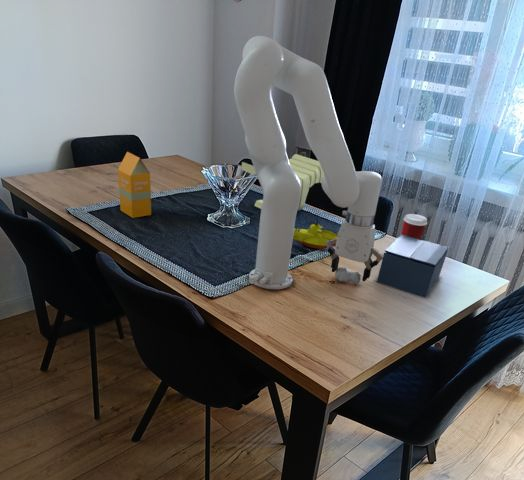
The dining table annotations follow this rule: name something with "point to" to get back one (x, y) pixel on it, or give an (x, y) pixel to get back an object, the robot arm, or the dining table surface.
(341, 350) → the dining table surface
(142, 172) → the orange juice
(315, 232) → the toy boat
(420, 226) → the paper cup
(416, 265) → the carton
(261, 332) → the dining table surface
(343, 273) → the pale two-lobed sculpture
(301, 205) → the slatted curved stool
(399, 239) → the flap
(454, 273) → the dining table surface
